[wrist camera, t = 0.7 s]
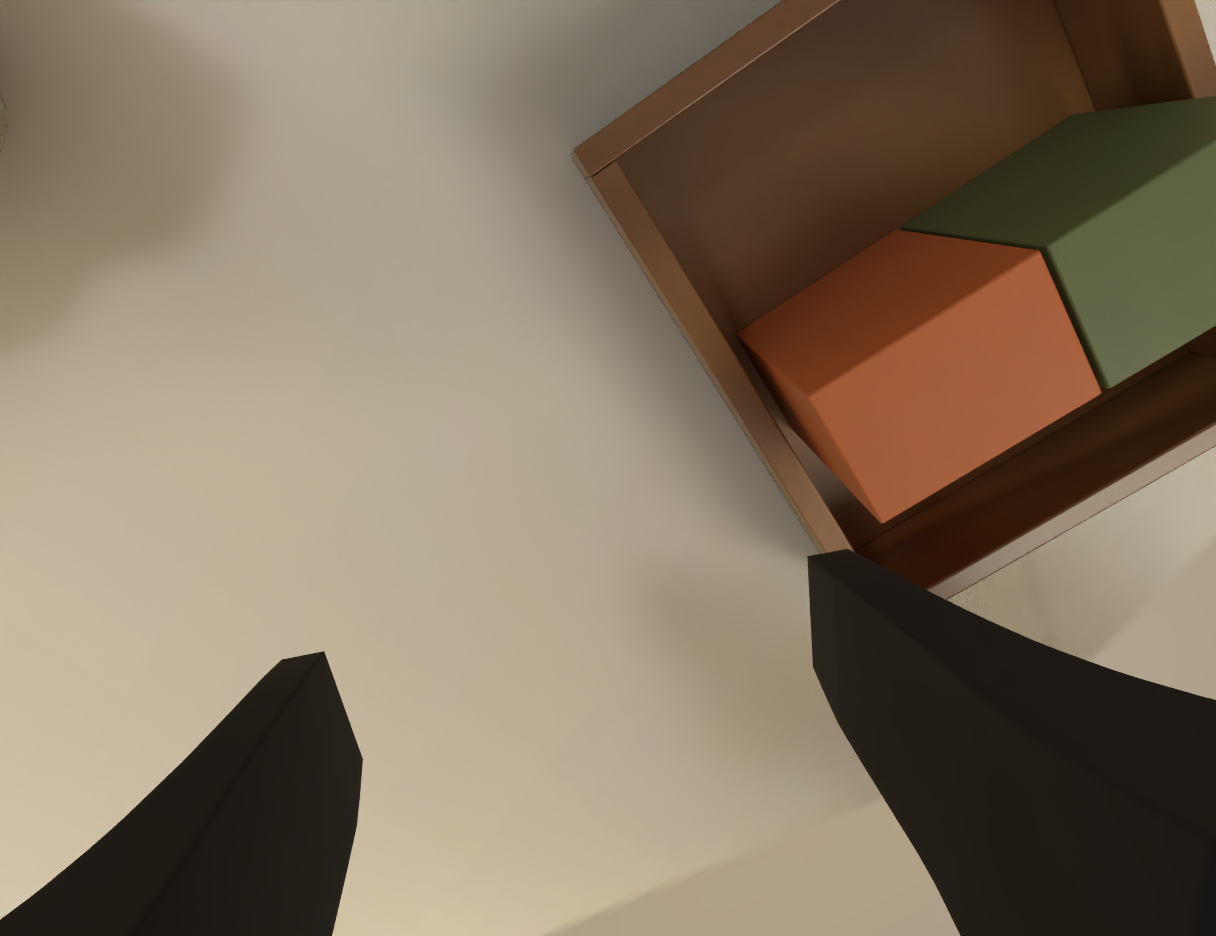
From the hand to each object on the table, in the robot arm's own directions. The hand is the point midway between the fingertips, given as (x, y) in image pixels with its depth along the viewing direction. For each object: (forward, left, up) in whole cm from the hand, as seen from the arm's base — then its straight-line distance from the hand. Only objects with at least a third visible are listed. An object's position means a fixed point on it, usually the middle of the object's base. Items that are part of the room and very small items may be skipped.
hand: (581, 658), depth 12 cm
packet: (-1, -12, -9) cm, 15 cm away
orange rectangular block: (-1, -7, -9) cm, 12 cm away
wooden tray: (-1, -10, -10) cm, 14 cm away
